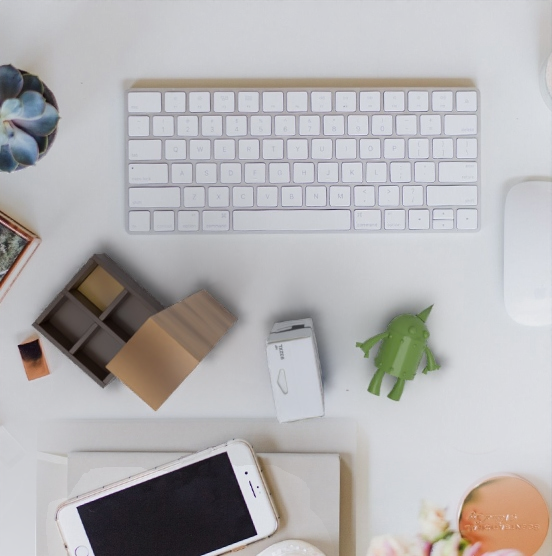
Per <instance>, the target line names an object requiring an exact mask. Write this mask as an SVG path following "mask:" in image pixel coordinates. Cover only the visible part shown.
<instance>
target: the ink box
mask: <svg viewBox="0 0 552 556" xmlns="http://www.w3.org/2000/svg"><path fill="white" fill-rule="evenodd" d="M265 355H266V360H267V366H268V371H269V379H270V386H271V389H272V396H273V404H274V409H275V416H276V418H277V421H278V423H279V424H280V425H287V424H292V423H298V422H304V421H310V420H314V419H319V418H325V414H326V410H325V408H326V407H325V382H324V376H323V371H322V365H321V360H320V354H319V349H318V343H317V339H316V332H315V327H314V322H313V319H312V317H308V318H307V317H306V318H300V319H292V320H286V321H281V322H280V321H279V322H274V323H273V326H272V328H271V330H270V332H269V335H268V337H267V339H266V341H265Z"/></svg>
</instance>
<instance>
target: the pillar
mask: <svg viewBox="0 0 552 556" xmlns="http://www.w3.org/2000/svg"><path fill="white" fill-rule="evenodd" d="M237 321H238V318H237V317H236V316H235V315H233V314H232V313H231V312H230V311H229V310H228V309H227V308H226V307H225V306H223V305H222V304H221V303H220V302H219V301H218V300H217V299H215V298H214V297H213V296H212V295H211V294H210V293H209V292H208V291H206V289H204V288H203V289H200V290H199V291H197V292H195V293H193V294H191V295H190V296H187V297H186V298H184V299H182V300H180V301H178V302H176V303H174V304H172V305H171V306H168V307H167V308H166V309H165V310H163V311H161V312H159V313H157V314H155V315H153V316H151V317H149V318H148V319H147V321H146V322H145V323H144V324H143V325H142V326H141V327H140V328H139V330H138V331H137V332H136V333H135V334H134V335H133V336H132V337H131V339H130V340H129V341H128V342H127V343H126V344H125V345H124V346H123V348H122V349H121V350H120V351H119V352H118V353H117V354H116V355H115V357H114V358H113V359H112V360H111V361H110V362H109V363H108V364H107V366H106V368H107V369H108V370H109V371H110V372H112V373H113V374H114V375H115V376H116V378H117V379H119V381H121V382H122V383H123V384H124V385H125V386H126V387H127V388H128V389H129V390H131V391H132V393H134V394H135V395H136V396H137V397H138V398H139V399H141V400H142V401H143V402H144V403H145V404H146V405H148V406H149V407H150V408H151V410H153V411H154V412H157V411H158V410H159V409H160V408H161V407H162V406H163V404H164V403H165V402H166V401H167V400H169V398H170V397H171V396H172V394H173V393H174V392H175V391H176V390H177V389H178V388H179V387H180V385H182V384H183V382H184V381H185V380H187V378H188V377H189V376H190V375H191V373H192V372H193V371H194V370H195V369H196V368H197V366H199V364H200V363H201V362H202V361H203V360H204V359H205V357H207V355H208V354H209V353H210V352H211V351H212V350H213V348H214V347H215V346H216V345H217V344H218V343H219V342H220V340H221V339H222V338H223V337H224V336H225V335H226V334H227V333H228V331H229V330H230V329H231V328H232V327H233V325H235V324H236V322H237Z"/></svg>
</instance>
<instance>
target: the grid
mask: <svg viewBox="0 0 552 556" xmlns="http://www.w3.org/2000/svg"><path fill="white" fill-rule="evenodd" d="M165 309H167V308H166V306H164V305H163V304H162V303H161V302H160V301H159V300H158V299H157V298H155V297H154V296H153V295H152V294H151V293H150V292H148V290H147V289H146V288H145V287H143V286H142V285H141V284H140V283H138V282H137V281H136V280H135V279H134V278H133V277H131V275H130V274H129V273H127V272H126V271H125V270H124V269H123V268H122V267H121V266H120V265H119V264H117V263H116V262H115V261H114V260H113V259H111V257H109V256H108V255H107V254H106V253H105V252H100V253H93V254H92V255H91V257H90V258H89V259H88V260H87V261H86V262H85V263H84V265H83V266H82V267H81V268H80V269H78V271H77V273H75V275H73V277H72V278H71V279H70V280H69V282H68V283H67V284H66V285H65V286H64V287H63V288H62V289H61V291H60V292H59V293H58V294H56V296H55V297H54V299H53V300H52V301H51V302H49V304H48V305H47V307H46V308H44V310H43V311H42V312H41V314H39V315H38V317H36V318H35V320H34V321H33V323H32V324H31V326H32V327H33V328H34V329H35V330H36V331H37V332H39V334H40V335H42V336H43V337H44V338H45V339H46V340H47V341H49V342H50V343H51V344H52V345H53V346H54V347H55V348H57V349H58V351H60V352H61V353H62V354H63V355H64V356H66V357H67V359H69V360H70V361H71V362H72V363H73V364H74V365H75V366H77V367H78V368H79V369H80V370H81V371H83V373H84V374H85V375H87V377H89V378H90V379H91V380H92V381H94V383H96V384H97V385H98V386H99V387H100V388H101V389H104V388H106V387H107V386H109V385H110V384H111V383H113V382H114V381H115V380H116V378H117V377H116V376H115V375H114V374H113V373H112V372H110V371H109V370H108V369H107V368H106V366H107V364H108V363H109V362H110V361H111V360H112V359H113V358H114V357H115V355H116V354H117V353H118V352H119V351H120V350H121V349H122V348H123V346H124V345H125V344H126V343H127V342H128V341H129V340H130V339H131V337H132V336H133V335H134V334H135V333H136V332H137V331H138V330H139V328H140V327H141V326H142V325H143V324H144V323H145V322H146V321H147V319H148V318H149V317H151V316H153V315H155V314H157V313H159V312H161V311H163V310H165Z"/></svg>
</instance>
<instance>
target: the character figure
mask: <svg viewBox="0 0 552 556" xmlns="http://www.w3.org/2000/svg"><path fill="white" fill-rule="evenodd" d="M434 304H435V303H433V304H431V305H429V306H428V307H426V308H425V309H423V310H422V311H420V312H418V313H417V314H413V313H401V314H399V315H396V316H395V317H393V318H392V320H391V321H390V322H389V324H388V325H387V326H386V328H385V330H384V331H383V332H381V333H379V334H376V335H373V336H372V337H369V338H368V339H366V340H365V341H364V342H358V341H357V342H355V348H360V351H362V352H363V353H364V354H363V358H364V359H369V358H370V351H371V349H372V348H373V347H374V346H375V345H376V344H377V343H378V342H379V341H381V342H380V345H379V348H378V351H377V353H376V356H375V357H374V358H373V366H374V367H375V368H377V370H376V371H375V372H374V374H373V376H372V377H371V380H370V382H369V384H368V387H367V389H366V391H367V392H368V393H370V394H372V395H374V396H378V397H380V395H381V387H382V383H383V379H384V376H385V374H388V375H391V376H393V377H395V378H397V379H396V381H395V382H394V385H393V387H392V388H391V390H390V391H389V392H388V393H387V395H386V397H387V398H388V399H389V400H391V401H395V402H400V400H401V397H402V396H403V393H404V388H405V385H406V381H414V380H415V377H416V375H417V372H418V369H419V367H420V364H421V361H422V358H423V355H424V353H425V357H426V366H425V367H424V368H423V370H422V372H421V373H422V374H423V375H427V374H428V372H434V371H436V370H437V371H439V370H440V368H441V365H440V364H437V363H436V359H435V357H434V354H433V352H432V350H431V349H430V347H429V346H428V341H429V340H428V339H429V338H430V336H431V333H430V332H429V329H428V327H427V324H426V323H427V320H428V318H429V316H430V314H431V312H432V309H433V307H434Z"/></svg>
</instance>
